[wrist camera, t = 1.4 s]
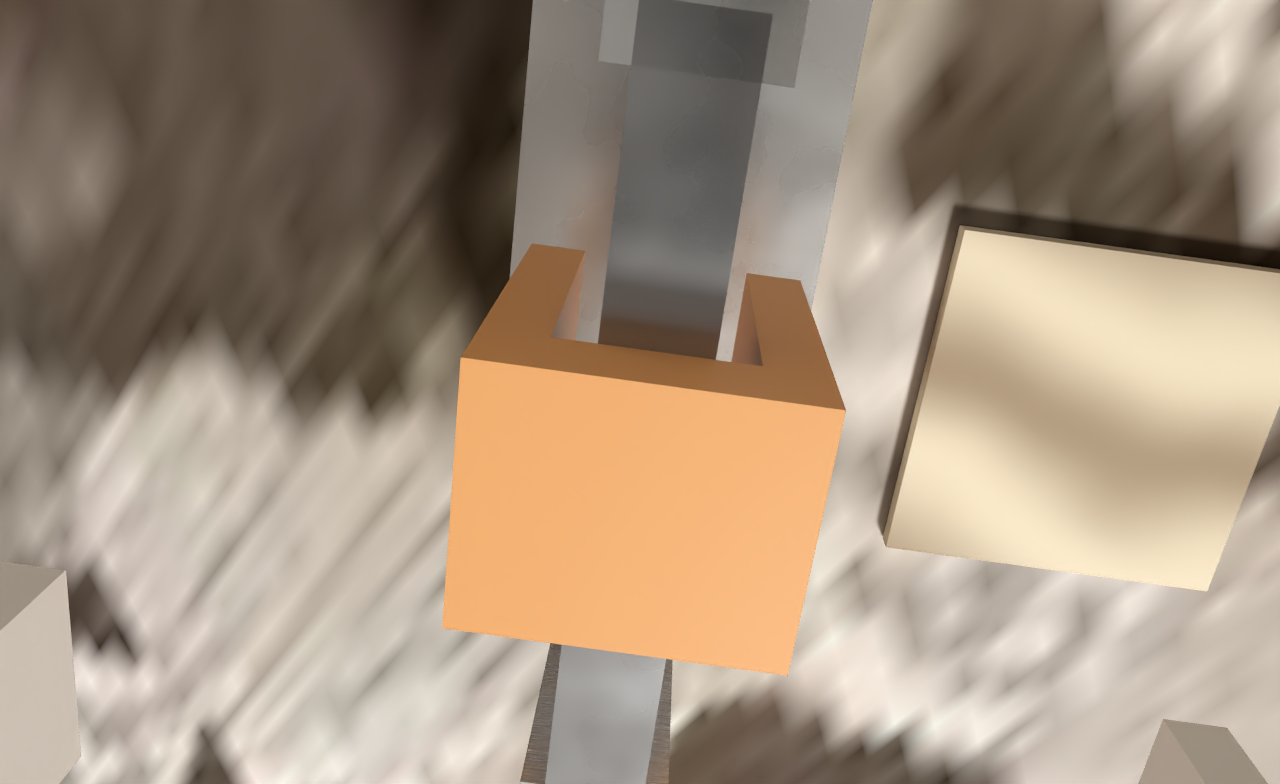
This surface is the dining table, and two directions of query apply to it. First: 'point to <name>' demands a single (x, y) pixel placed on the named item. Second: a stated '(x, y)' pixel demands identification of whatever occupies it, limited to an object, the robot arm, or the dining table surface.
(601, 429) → the orange notched sleeve
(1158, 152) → the dining table surface
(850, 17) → the rail stand
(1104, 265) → the pad
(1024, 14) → the dining table surface
